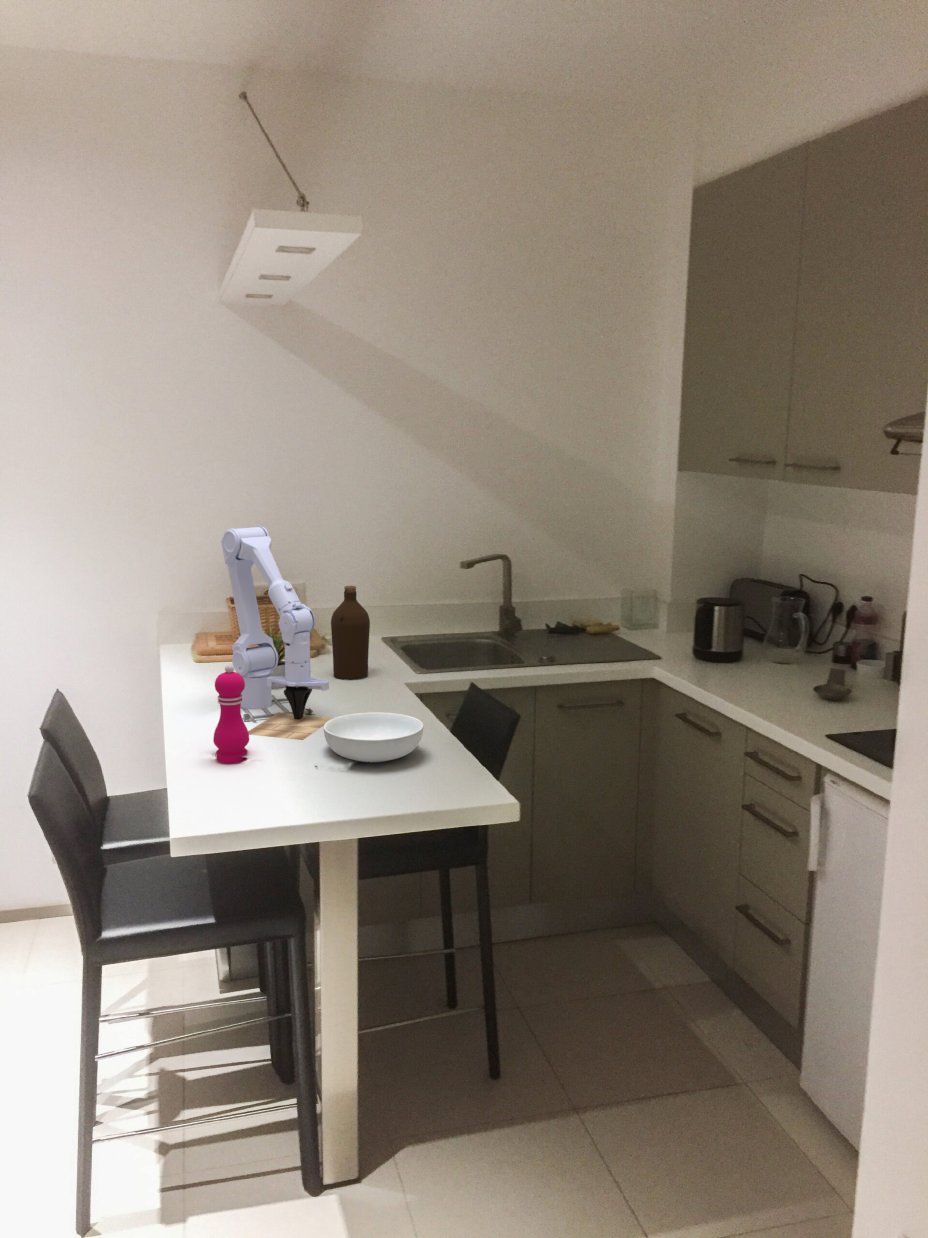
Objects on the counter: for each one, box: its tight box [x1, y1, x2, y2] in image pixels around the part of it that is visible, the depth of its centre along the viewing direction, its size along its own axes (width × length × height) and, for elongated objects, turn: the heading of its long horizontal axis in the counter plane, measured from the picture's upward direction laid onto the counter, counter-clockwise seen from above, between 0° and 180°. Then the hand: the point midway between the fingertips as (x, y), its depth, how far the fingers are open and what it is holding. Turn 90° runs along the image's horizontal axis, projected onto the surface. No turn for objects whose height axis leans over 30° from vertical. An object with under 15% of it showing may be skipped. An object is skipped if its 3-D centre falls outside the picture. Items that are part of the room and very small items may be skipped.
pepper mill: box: [212, 664, 250, 765], centre depth 207 cm, size 7×7×20 cm
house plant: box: [262, 625, 285, 690], centre depth 265 cm, size 14×14×16 cm
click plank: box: [262, 711, 335, 729], centre depth 233 cm, size 14×8×1 cm, turn 75°
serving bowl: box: [323, 711, 425, 764], centre depth 212 cm, size 21×21×7 cm
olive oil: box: [330, 585, 371, 681], centre depth 278 cm, size 11×11×25 cm
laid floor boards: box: [248, 722, 320, 741], centre depth 225 cm, size 14×9×1 cm, turn 75°
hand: (298, 718), depth 234 cm, fingers closed
